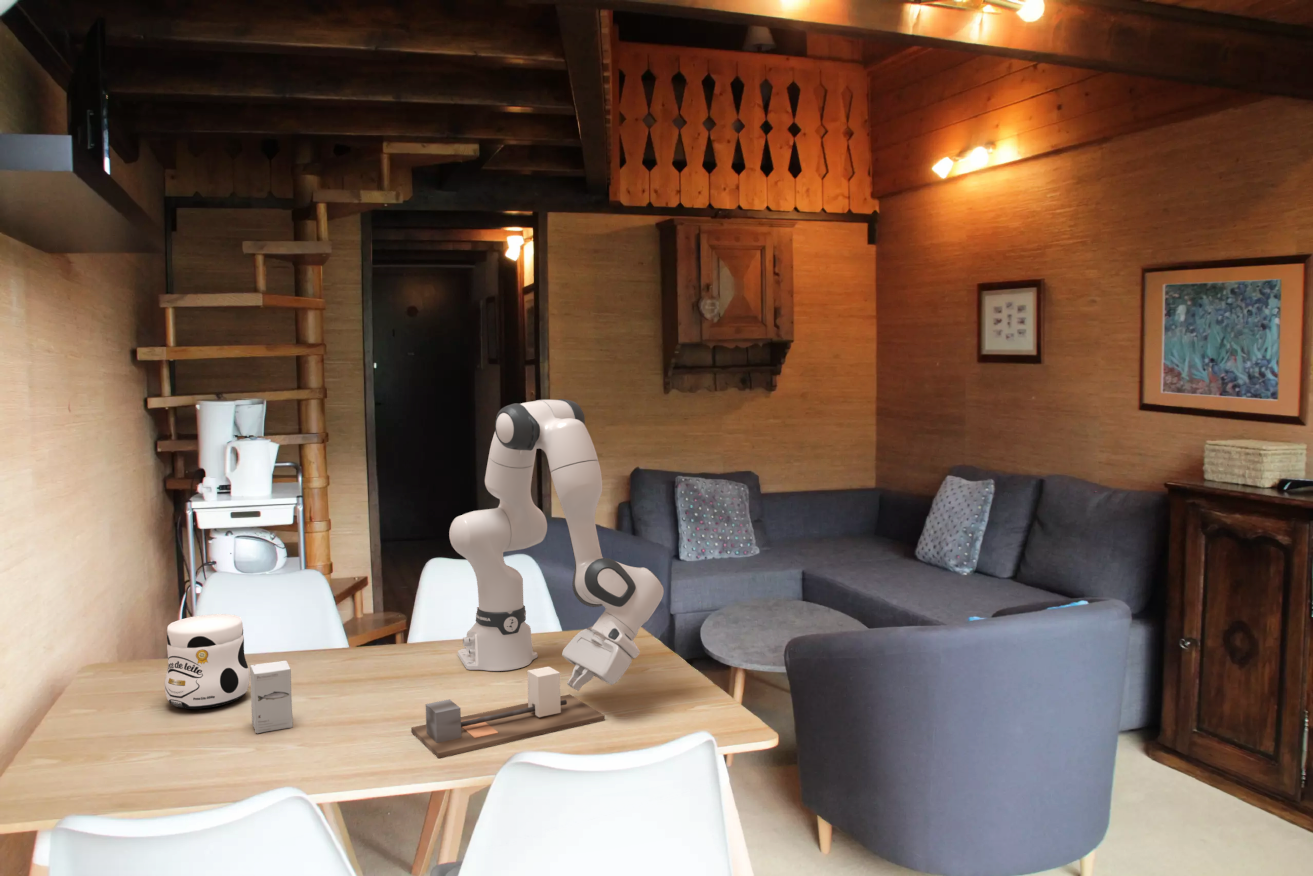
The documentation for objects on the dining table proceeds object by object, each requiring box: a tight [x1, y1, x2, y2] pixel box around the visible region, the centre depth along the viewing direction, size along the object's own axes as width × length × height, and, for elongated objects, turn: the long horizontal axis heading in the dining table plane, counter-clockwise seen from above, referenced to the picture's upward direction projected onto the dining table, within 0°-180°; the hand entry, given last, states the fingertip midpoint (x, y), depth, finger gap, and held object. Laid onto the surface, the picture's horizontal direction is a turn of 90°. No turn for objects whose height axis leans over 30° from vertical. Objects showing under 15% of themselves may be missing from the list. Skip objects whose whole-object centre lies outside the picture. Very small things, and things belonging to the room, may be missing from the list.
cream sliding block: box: [526, 666, 561, 717], centre depth 207 cm, size 5×5×8 cm
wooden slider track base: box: [410, 693, 606, 759], centre depth 203 cm, size 16×36×7 cm, turn 122°
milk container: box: [164, 613, 250, 710], centre depth 220 cm, size 17×17×18 cm
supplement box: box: [249, 660, 294, 734], centre depth 205 cm, size 7×7×13 cm
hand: (572, 687), depth 210 cm, fingers closed
